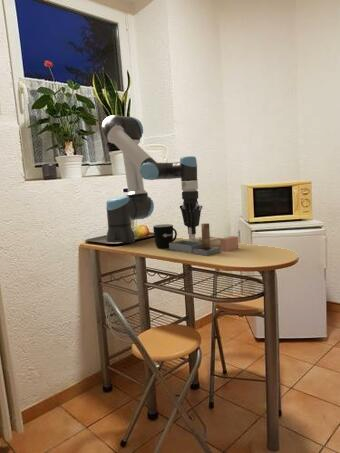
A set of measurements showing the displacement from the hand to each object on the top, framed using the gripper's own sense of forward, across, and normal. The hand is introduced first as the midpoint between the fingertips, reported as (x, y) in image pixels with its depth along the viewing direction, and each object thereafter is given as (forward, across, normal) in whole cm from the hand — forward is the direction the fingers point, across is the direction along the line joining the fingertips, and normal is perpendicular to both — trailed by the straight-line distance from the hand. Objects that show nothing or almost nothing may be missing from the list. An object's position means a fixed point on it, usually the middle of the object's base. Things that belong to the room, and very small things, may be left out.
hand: (192, 241), depth 169 cm
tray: (+2, +8, -11) cm, 14 cm away
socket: (+2, +20, -11) cm, 22 cm away
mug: (+2, -5, -12) cm, 13 cm away
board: (+2, +10, 0) cm, 10 cm away
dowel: (+2, +20, -11) cm, 22 cm away
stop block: (+2, +22, 0) cm, 23 cm away
